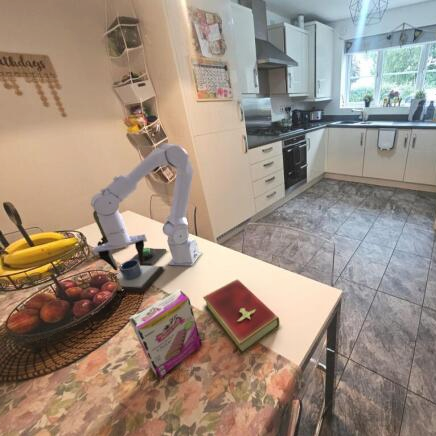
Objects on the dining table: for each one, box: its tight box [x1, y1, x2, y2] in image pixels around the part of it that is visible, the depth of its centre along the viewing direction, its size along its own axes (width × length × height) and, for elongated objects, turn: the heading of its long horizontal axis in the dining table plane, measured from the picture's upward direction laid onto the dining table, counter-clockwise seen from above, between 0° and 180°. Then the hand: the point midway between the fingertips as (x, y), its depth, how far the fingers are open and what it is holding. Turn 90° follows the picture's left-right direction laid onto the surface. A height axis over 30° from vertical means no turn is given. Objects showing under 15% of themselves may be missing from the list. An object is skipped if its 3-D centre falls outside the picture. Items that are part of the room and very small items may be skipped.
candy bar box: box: [128, 288, 202, 380], centre depth 56 cm, size 11×5×16 cm, turn 141°
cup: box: [118, 259, 142, 280], centre depth 84 cm, size 6×6×4 cm
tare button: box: [143, 247, 150, 255], centre depth 97 cm, size 3×3×2 cm
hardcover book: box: [202, 278, 280, 355], centre depth 69 cm, size 12×21×4 cm, turn 41°
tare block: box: [130, 247, 168, 266], centre depth 97 cm, size 10×10×3 cm
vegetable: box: [92, 208, 105, 237], centre depth 106 cm, size 4×4×20 cm
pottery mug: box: [97, 235, 128, 249], centre depth 106 cm, size 12×10×8 cm
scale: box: [115, 265, 165, 294], centre depth 86 cm, size 14×12×2 cm
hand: (129, 264), depth 83 cm, fingers open, 7 cm apart
